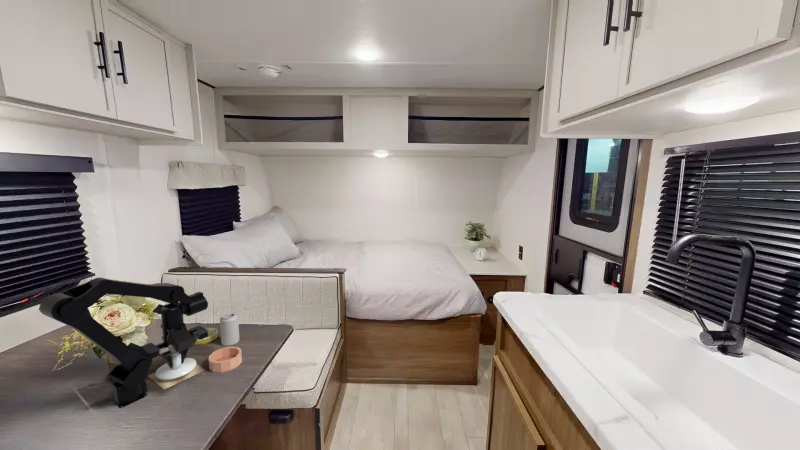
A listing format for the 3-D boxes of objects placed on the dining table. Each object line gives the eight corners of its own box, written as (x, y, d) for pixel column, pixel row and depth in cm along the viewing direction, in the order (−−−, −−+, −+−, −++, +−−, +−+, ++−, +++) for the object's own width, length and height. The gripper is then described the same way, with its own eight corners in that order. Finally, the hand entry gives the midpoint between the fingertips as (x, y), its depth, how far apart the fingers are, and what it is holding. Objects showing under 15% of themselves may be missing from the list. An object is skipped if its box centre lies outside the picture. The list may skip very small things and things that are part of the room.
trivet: (164, 391, 96) (164, 389, 96) (147, 377, 102) (147, 375, 102) (205, 371, 106) (205, 369, 106) (188, 360, 112) (187, 358, 112)
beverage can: (234, 347, 121) (232, 318, 119) (217, 347, 121) (216, 318, 119) (242, 339, 127) (241, 311, 125) (227, 338, 127) (225, 311, 126)
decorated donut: (202, 333, 132) (202, 324, 131) (224, 336, 129) (223, 327, 129) (180, 345, 122) (179, 336, 121) (203, 349, 119) (202, 340, 119)
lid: (165, 384, 96) (163, 369, 95) (149, 372, 102) (148, 357, 101) (202, 366, 105) (201, 352, 105) (186, 356, 111) (185, 343, 110)
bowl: (219, 377, 103) (218, 366, 102) (203, 367, 108) (203, 356, 108) (247, 362, 111) (247, 352, 111) (232, 353, 117) (231, 343, 116)
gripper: (148, 340, 89) (153, 390, 91) (215, 317, 105) (218, 360, 107) (133, 330, 95) (138, 377, 97) (198, 309, 111) (201, 350, 113)
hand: (176, 365), depth 103 cm, fingers closed on lid, 3 cm apart
